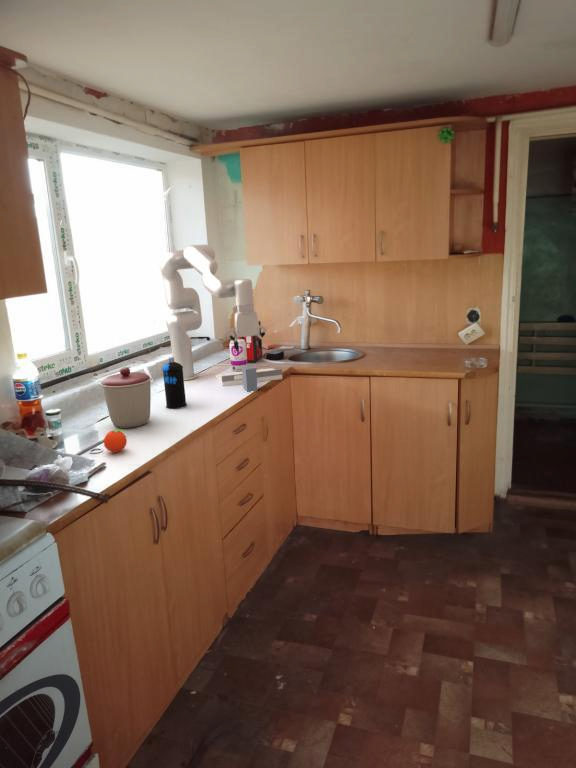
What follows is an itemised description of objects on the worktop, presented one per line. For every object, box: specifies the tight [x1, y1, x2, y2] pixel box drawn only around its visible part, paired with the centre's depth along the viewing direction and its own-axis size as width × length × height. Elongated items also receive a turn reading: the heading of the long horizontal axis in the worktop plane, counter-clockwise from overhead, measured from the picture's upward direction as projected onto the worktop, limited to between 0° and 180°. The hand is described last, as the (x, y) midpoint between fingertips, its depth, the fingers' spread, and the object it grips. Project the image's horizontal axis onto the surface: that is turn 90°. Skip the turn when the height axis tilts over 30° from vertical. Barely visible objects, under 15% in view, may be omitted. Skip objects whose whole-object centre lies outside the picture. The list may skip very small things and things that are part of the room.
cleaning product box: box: [238, 320, 263, 364], centre depth 306 cm, size 16×9×20 cm, turn 170°
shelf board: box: [215, 367, 283, 387], centre depth 265 cm, size 28×16×4 cm, turn 107°
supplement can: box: [228, 339, 248, 372], centre depth 284 cm, size 8×8×15 cm
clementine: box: [103, 429, 130, 453], centre depth 179 cm, size 8×7×7 cm
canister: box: [99, 367, 153, 429], centre depth 205 cm, size 18×18×21 cm
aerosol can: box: [161, 356, 188, 410], centre depth 225 cm, size 8×8×20 cm
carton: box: [241, 364, 258, 393], centre depth 245 cm, size 5×7×10 cm
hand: (248, 349), depth 242 cm, fingers open, 9 cm apart
